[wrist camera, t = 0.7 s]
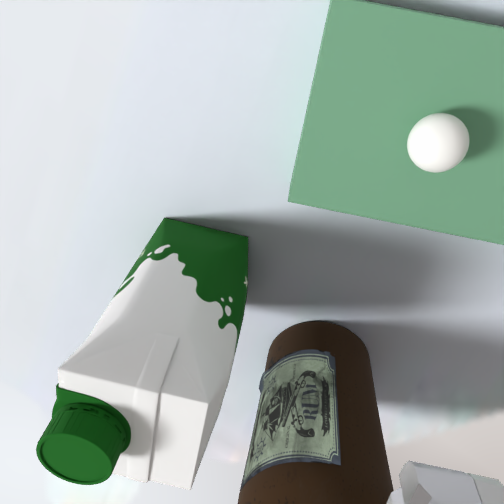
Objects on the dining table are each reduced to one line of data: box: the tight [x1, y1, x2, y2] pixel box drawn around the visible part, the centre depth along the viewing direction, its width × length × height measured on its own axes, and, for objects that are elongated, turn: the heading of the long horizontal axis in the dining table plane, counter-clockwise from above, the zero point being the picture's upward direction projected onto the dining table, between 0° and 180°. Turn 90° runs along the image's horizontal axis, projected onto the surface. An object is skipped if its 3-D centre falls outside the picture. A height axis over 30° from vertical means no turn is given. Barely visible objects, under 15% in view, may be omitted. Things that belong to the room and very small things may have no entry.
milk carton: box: [36, 218, 248, 490], centre depth 33 cm, size 9×9×20 cm
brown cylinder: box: [238, 321, 394, 504], centre depth 34 cm, size 11×11×25 cm
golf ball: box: [407, 113, 469, 173], centre depth 29 cm, size 4×4×4 cm
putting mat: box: [288, 0, 504, 245], centre depth 32 cm, size 22×13×3 cm, turn 81°
